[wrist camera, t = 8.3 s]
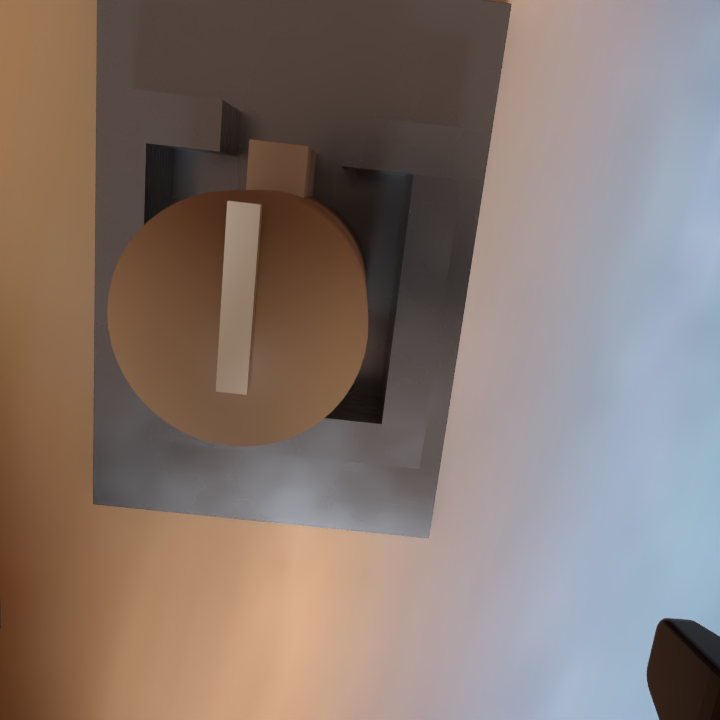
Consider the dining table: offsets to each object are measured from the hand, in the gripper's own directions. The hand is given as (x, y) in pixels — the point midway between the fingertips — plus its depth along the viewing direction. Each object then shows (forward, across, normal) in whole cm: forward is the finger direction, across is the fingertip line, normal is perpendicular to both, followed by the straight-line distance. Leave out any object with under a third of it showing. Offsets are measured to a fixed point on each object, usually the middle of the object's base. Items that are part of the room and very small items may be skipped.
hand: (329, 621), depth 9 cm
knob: (+12, +2, -3) cm, 12 cm away
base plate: (+12, +2, -3) cm, 13 cm away
